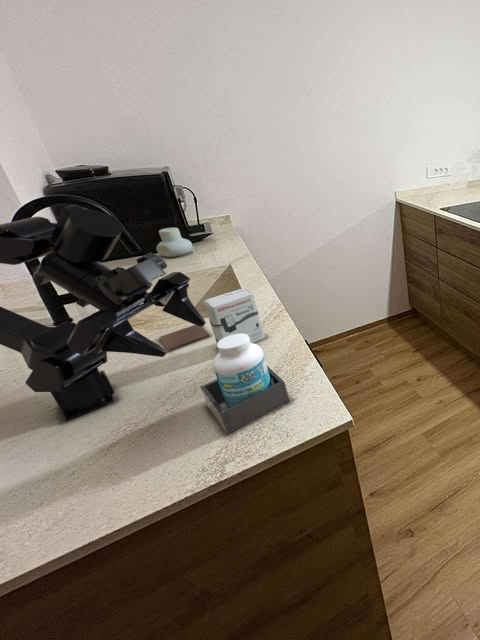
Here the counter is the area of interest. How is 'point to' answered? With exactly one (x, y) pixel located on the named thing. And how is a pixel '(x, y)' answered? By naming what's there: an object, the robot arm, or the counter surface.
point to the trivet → (184, 337)
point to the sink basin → (245, 403)
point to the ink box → (234, 315)
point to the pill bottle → (240, 368)
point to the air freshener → (173, 243)
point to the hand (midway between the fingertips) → (186, 338)
